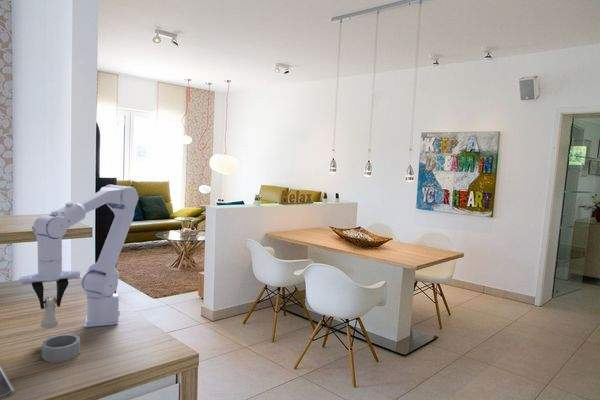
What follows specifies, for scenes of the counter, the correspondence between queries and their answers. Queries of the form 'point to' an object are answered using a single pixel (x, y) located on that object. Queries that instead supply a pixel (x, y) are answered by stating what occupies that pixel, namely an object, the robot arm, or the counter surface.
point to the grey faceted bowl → (61, 347)
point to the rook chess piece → (49, 314)
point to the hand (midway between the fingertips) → (50, 306)
